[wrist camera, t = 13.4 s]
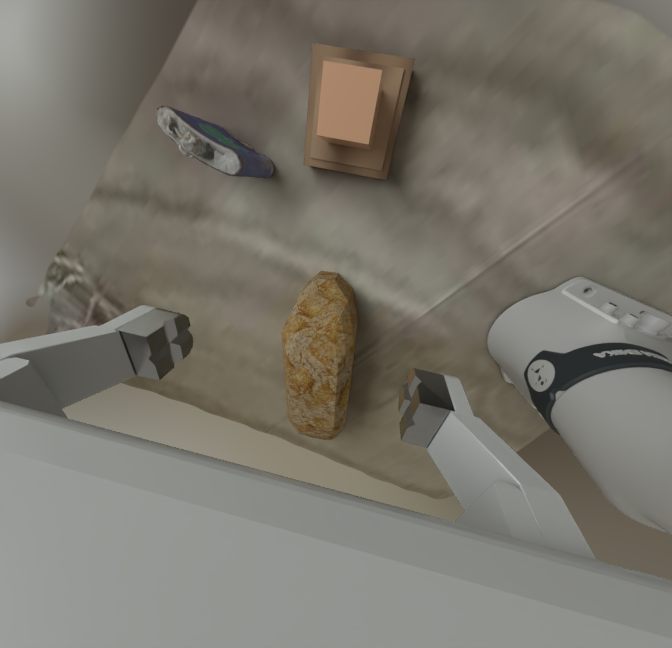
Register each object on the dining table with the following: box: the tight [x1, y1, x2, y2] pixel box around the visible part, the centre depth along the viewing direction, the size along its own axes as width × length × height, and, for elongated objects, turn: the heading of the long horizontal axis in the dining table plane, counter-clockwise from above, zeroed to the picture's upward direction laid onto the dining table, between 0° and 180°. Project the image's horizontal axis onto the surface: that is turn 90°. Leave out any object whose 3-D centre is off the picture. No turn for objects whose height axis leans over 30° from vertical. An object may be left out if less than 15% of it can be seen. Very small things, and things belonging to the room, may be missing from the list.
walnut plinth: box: [304, 43, 415, 180], centre depth 27 cm, size 10×10×3 cm
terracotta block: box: [317, 61, 383, 150], centre depth 24 cm, size 5×5×5 cm
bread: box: [281, 271, 358, 440], centre depth 43 cm, size 36×11×10 cm, turn 177°
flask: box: [157, 106, 274, 178], centre depth 27 cm, size 9×3×11 cm, turn 60°
